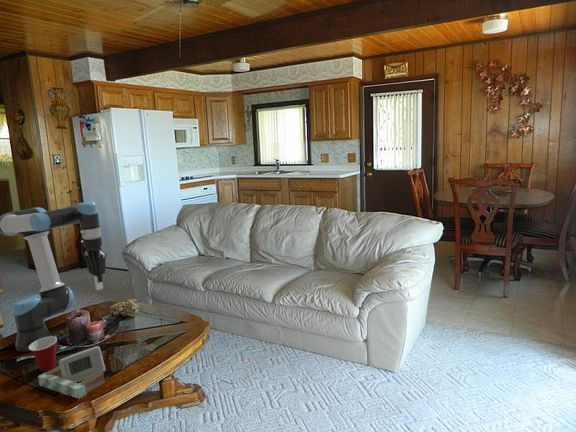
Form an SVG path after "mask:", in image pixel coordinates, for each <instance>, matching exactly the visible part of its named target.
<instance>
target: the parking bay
mask: <svg viewBox="0 0 576 432" xmlns="http://www.w3.org/2000/svg"><path fill="white" fill-rule="evenodd" d="M37 380H38V384H39V386H40V387H42V388H45V389H49V390H52V391H55V392H57V393H59V394H63V395H66V396H69V395H70V396H69V397H71V396H72V398H74V397H75V398H74V399H77V398H78V399H77V400H81V399H82V398H84V397H85V396H87V394H89V393H90V392H92V391H94V390H96V389H97V388H98V387H100V386H102V385H103V384H104V383H106V381H105V373H104V372H97V373H95V374H93V375H92V376H90V377H88V378H87V379H85V380H83V381H81V382H79V383H76V382H73V381H70V380H67V379H64V378H62V374H61V370H60V366H59V365H57V366H55V367H54V368H53V369H51V370H48V371H45V372H43V373H42V374H39V375H38V376H37ZM83 396H84V397H83ZM80 398H81V399H80Z"/></svg>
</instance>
